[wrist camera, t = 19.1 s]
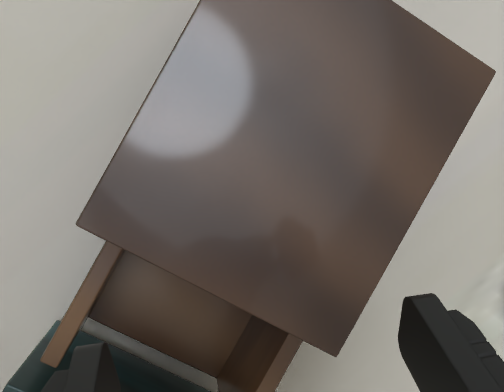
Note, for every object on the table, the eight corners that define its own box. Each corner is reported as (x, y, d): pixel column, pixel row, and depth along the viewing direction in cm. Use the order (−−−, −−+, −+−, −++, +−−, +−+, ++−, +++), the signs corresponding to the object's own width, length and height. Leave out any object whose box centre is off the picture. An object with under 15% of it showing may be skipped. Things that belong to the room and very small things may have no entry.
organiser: (289, 294, 30) (336, 358, 20) (112, 202, 28) (74, 225, 18) (398, 98, 30) (497, 71, 20) (229, -9, 28) (252, -95, 18)
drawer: (180, 480, 29) (178, 597, 21) (8, 407, 27) (-63, 506, 19) (321, 227, 29) (370, 253, 21) (159, 136, 27) (148, 128, 19)
